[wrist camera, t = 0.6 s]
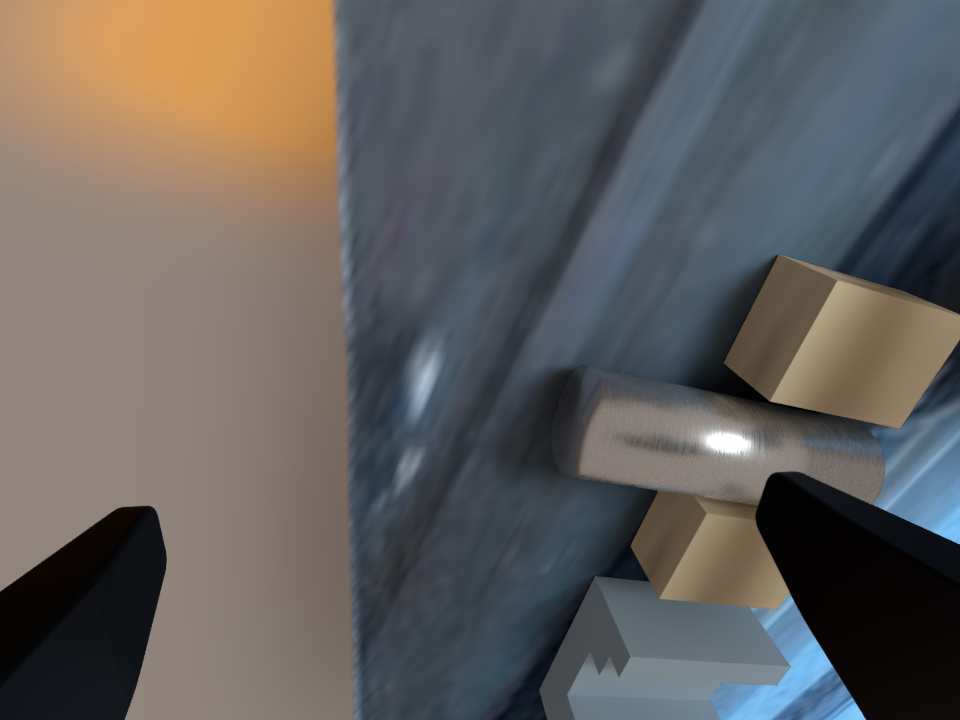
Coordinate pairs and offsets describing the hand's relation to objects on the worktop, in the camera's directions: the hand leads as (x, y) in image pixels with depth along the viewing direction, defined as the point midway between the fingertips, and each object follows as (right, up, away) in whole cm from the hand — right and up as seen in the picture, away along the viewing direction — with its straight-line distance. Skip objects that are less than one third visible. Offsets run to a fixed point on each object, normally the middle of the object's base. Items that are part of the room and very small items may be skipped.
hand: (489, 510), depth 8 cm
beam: (+12, -1, +16) cm, 20 cm away
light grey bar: (+9, 0, +15) cm, 18 cm away
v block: (+8, -12, +21) cm, 25 cm away
